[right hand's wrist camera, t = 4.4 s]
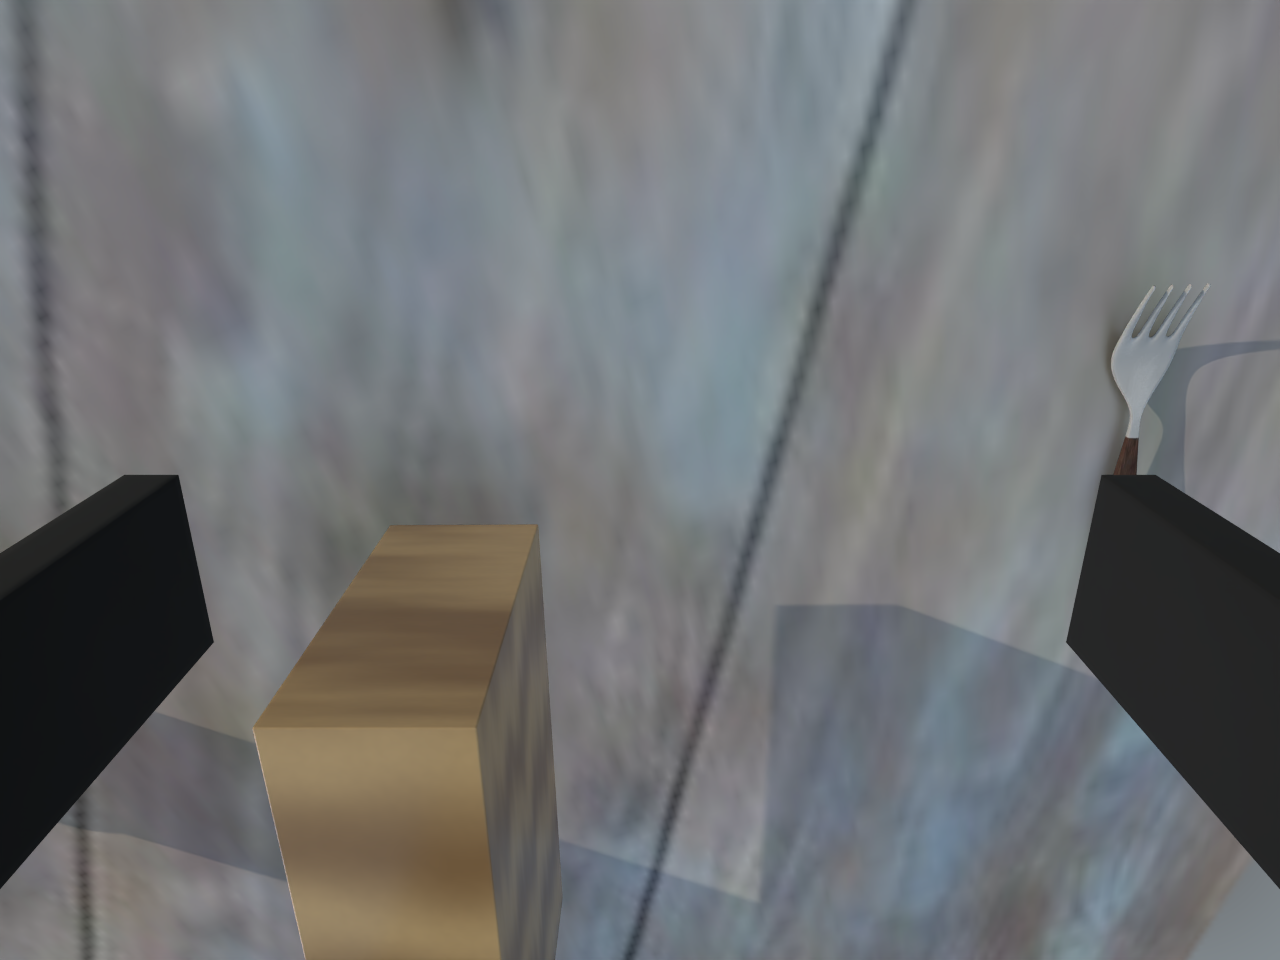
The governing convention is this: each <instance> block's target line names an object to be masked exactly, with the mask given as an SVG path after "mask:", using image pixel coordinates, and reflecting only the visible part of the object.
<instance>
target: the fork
mask: <svg viewBox="0 0 1280 960" xmlns="http://www.w3.org/2000/svg"><path fill="white" fill-rule="evenodd" d="M1210 287H1211V284H1209V283H1208V284H1207V285H1206V286H1205V288H1204V289H1203V290H1202V292H1201V293H1200V294H1199V296H1198V297H1197V298H1196V300H1195V301H1194V303H1193V304H1192V305H1191V307H1190V308H1189V310H1188V311H1187V313H1186V314H1185V316H1184V317H1183V318H1182V320H1181V322H1180V323H1179V325H1178V326H1177V328H1176V329H1175V331H1174V332H1173V333H1172V334H1171V335H1170V336H1168V337H1167V336H1166V333H1167V331H1168V328H1169V326H1170V324H1171V322H1172V320H1173V319H1174V317H1175V315H1176V313H1177V311H1178V310H1179V308H1180V306H1181V304H1182V302H1183V301H1184V299H1185V297H1186V296H1187V294H1188V292H1189V291H1190V289H1191V288H1192V285H1191V284H1189V285H1188V287H1187V288H1186V289H1185V291H1184V292H1183V293H1182V295H1181V296H1180V298H1179V299H1178V301H1177V302H1176V304H1175V305H1174V306H1173V308H1172V309H1171V311H1170V312H1169V314H1168V315H1167V317H1166V318H1165V320H1164V321H1163V323H1162V325H1161V326H1160V328H1159V329H1158V331H1157V332H1156V333H1155V335H1154V336H1152V337H1149V333H1150V330H1151V328H1152V326H1153V324H1154V322H1155V320H1156V318H1157V316H1158V314H1159V312H1160V311H1161V309H1162V307H1163V305H1164V303H1165V301H1166V300H1167V298H1168V296H1169V294H1170V293H1171V291H1172V290H1173V285H1171V286H1170V287H1169V288H1168V290H1167V291H1166V293H1165V294H1164V296H1163V297H1162V298H1161V300H1160V301H1159V303H1158V304H1157V306H1156V307H1155V309H1154V310H1153V312H1152V313H1151V315H1150V317H1149V318H1148V320H1147V321H1146V323H1145V325H1144V326H1143V328H1142V329H1141V331H1140V332H1139V334H1138V335H1137V336H1136V337H1134V338H1132V333H1133V330H1134V328H1135V326H1136V324H1137V322H1138V320H1139V318H1140V316H1141V314H1142V312H1143V310H1144V308H1145V306H1146V304H1147V302H1148V300H1149V298H1150V297H1151V295H1152V293H1153V292H1154V290H1155V288H1156V287H1155V286H1152V287H1151V289H1150V290H1149V292H1148V293H1147V295H1146V296H1145V298H1144V299H1143V301H1142V302H1141V304H1140V305H1139V307H1138V308H1137V310H1136V312H1135V313H1134V315H1133V316H1132V318H1131V320H1130V321H1129V323H1128V325H1127V326H1126V328H1125V330H1124V332H1123V334H1122V335H1121V337H1120V339H1119V341H1118V343H1117V345H1116V347H1115V349H1114V351H1113V354H1112V358H1111V370H1112V374H1113V377H1114V379H1115V382H1116V384H1117V386H1118V387H1119V389H1120V391H1121V393H1122V395H1123V396H1124V398H1125V400H1126V402H1127V404H1128V407H1129V411H1130V421H1129V426H1128V429H1127V433H1126V436H1125V440H1124V443H1123V446H1122V449H1121V452H1120V455H1119V459H1118V462H1117V465H1116V468H1115V471H1114V474H1113V475H1136V473H1137V455H1138V438H1139V427H1140V420H1141V416H1142V413H1143V410H1144V408H1145V406H1146V404H1147V402H1148V400H1149V399H1150V397H1151V395H1152V394H1153V392H1154V390H1155V389H1156V387H1157V386H1158V384H1159V383H1160V381H1161V379H1162V378H1163V376H1164V374H1165V373H1166V371H1167V369H1168V367H1169V365H1170V363H1171V361H1172V359H1173V357H1174V355H1175V352H1176V350H1177V347H1178V344H1179V342H1180V339H1181V337H1182V334H1183V332H1184V330H1185V328H1186V326H1187V324H1188V323H1189V321H1190V319H1191V317H1192V316H1193V314H1194V312H1195V310H1196V309H1197V307H1198V305H1199V303H1200V302H1201V300H1202V298H1203V297H1204V295H1205V294H1206V292H1207V291H1208V289H1209V288H1210Z"/></svg>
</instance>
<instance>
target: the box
mask: <svg viewBox="0 0 1280 960" xmlns="http://www.w3.org/2000/svg"><path fill="white" fill-rule="evenodd" d="M253 733H254V737H255V741H256V746H257V750H258V755H259V759H260V763H261V768H262V772H263V777H264V781H265V785H266V790H267V794H268V798H269V803H270V807H271V812H272V816H273V820H274V825H275V829H276V833H277V838H278V842H279V847H280V851H281V855H282V860H283V864H284V869H285V873H286V877H287V882H288V886H289V890H290V895H291V899H292V904H293V908H294V912H295V917H296V921H297V925H298V930H299V934H300V939H301V943H302V947H303V952H304V956H305V960H555V955H556V947H557V939H558V931H559V922H560V914H561V906H562V883H561V867H560V852H559V837H558V821H557V806H556V791H555V775H554V760H553V745H552V729H551V714H550V699H549V683H548V668H547V653H546V638H545V622H544V607H543V592H542V576H541V561H540V546H539V530H538V525H391V526H390V527H389V528H388V529H387V531H386V532H385V534H384V535H383V537H382V538H381V540H380V541H379V543H378V544H377V546H376V547H375V549H374V550H373V552H372V553H371V554H370V556H369V557H368V559H367V560H366V562H365V563H364V565H363V566H362V568H361V569H360V571H359V572H358V574H357V575H356V577H355V578H354V580H353V581H352V582H351V584H350V585H349V587H348V588H347V590H346V591H345V593H344V594H343V596H342V597H341V599H340V600H339V602H338V603H337V605H336V606H335V607H334V609H333V610H332V612H331V613H330V615H329V616H328V618H327V619H326V621H325V622H324V624H323V625H322V627H321V628H320V630H319V631H318V632H317V634H316V635H315V637H314V638H313V640H312V641H311V643H310V644H309V646H308V647H307V649H306V650H305V652H304V653H303V655H302V656H301V658H300V659H299V660H298V662H297V663H296V665H295V666H294V668H293V669H292V671H291V672H290V674H289V675H288V677H287V678H286V680H285V681H284V683H283V684H282V685H281V687H280V688H279V690H278V691H277V693H276V694H275V696H274V697H273V699H272V700H271V702H270V703H269V705H268V706H267V708H266V709H265V711H264V712H263V713H262V715H261V716H260V718H259V719H258V721H257V722H256V724H255V725H254V727H253Z"/></svg>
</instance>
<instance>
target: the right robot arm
mask: <svg viewBox="0 0 1280 960" xmlns="http://www.w3.org/2000/svg"><path fill="white" fill-rule="evenodd" d="M213 643H214V641H213V636H212V632H211V627H210V622H209V618H208V613H207V608H206V603H205V599H204V594H203V589H202V584H201V580H200V575H199V570H198V566H197V561H196V556H195V551H194V547H193V542H192V537H191V532H190V528H189V523H188V518H187V514H186V509H185V504H184V499H183V495H182V490H181V485H180V480H179V476H178V475H124V476H122V477H120V478H119V479H117V480H116V481H114V482H113V483H111V484H109V485H108V486H106V487H105V488H103V489H101V490H100V491H98V492H97V493H95V494H94V495H92V496H90V497H89V498H87V499H86V500H84V501H82V502H81V503H79V504H78V505H76V506H75V507H73V508H71V509H70V510H68V511H67V512H65V513H63V514H62V515H60V516H59V517H57V518H56V519H54V520H52V521H51V522H49V523H48V524H46V525H44V526H43V527H41V528H40V529H38V530H36V531H35V532H33V533H32V534H30V535H29V536H27V537H25V538H24V539H22V540H21V541H19V542H17V543H16V544H14V545H13V546H11V547H10V548H8V549H6V550H5V551H3V552H2V553H0V889H1V887H2V886H3V885H4V884H5V883H6V882H7V881H8V879H9V878H10V877H11V876H12V875H13V874H14V872H15V871H16V870H17V869H18V868H19V867H20V866H21V864H22V863H23V862H24V861H25V860H26V859H27V857H28V856H29V855H30V854H31V853H32V852H33V851H34V849H35V848H36V847H37V846H38V845H39V844H40V842H41V841H42V840H43V839H44V838H45V837H46V835H47V834H48V833H49V832H50V831H51V830H52V829H53V827H54V826H55V825H56V824H57V823H58V822H59V820H60V819H61V818H62V817H63V816H64V815H65V814H66V812H67V811H68V810H69V809H70V808H71V807H72V805H73V804H74V803H75V802H76V801H77V800H78V799H79V797H80V796H81V795H82V794H83V793H84V792H85V790H86V789H87V788H88V787H89V786H90V785H91V783H92V782H93V781H94V780H95V779H96V778H97V777H98V775H99V774H100V773H101V772H102V771H103V770H104V768H105V767H106V766H107V765H108V764H109V763H110V762H111V760H112V759H113V758H114V757H115V756H116V755H117V753H118V752H119V751H120V750H121V749H122V748H123V747H124V745H125V744H126V743H127V742H128V741H129V740H130V738H131V737H132V736H133V735H134V734H135V733H136V731H137V730H138V729H139V728H140V727H141V726H142V725H143V723H144V722H145V721H146V720H147V719H148V718H149V716H150V715H151V714H152V713H153V712H154V711H155V710H156V708H157V707H158V706H159V705H160V704H161V703H162V701H163V700H164V699H165V698H166V697H167V696H168V695H169V693H170V692H171V691H172V690H173V689H174V688H175V686H176V685H177V684H178V683H179V682H180V681H181V679H182V678H183V677H184V676H185V675H186V674H187V673H188V671H189V670H190V669H191V668H192V667H193V666H194V664H195V663H196V662H197V661H198V660H199V659H200V658H201V656H202V655H203V654H204V653H205V652H206V651H207V649H208V648H209V647H210V646H211V645H212V644H213ZM1066 643H1067V644H1068V645H1069V646H1070V647H1071V648H1072V649H1073V651H1074V652H1075V653H1076V654H1077V655H1078V656H1079V658H1080V659H1081V660H1082V661H1083V662H1084V663H1085V664H1086V666H1087V667H1088V668H1089V669H1090V670H1091V671H1092V673H1093V674H1094V675H1095V676H1096V677H1097V678H1098V679H1099V681H1100V682H1101V683H1102V684H1103V685H1104V686H1105V688H1106V689H1107V690H1108V691H1109V692H1110V693H1111V695H1112V696H1113V697H1114V698H1115V699H1116V700H1117V701H1118V703H1119V704H1120V705H1121V706H1122V707H1123V708H1124V710H1125V711H1126V712H1127V713H1128V714H1129V715H1130V716H1131V718H1132V719H1133V720H1134V721H1135V722H1136V723H1137V725H1138V726H1139V727H1140V728H1141V729H1142V730H1143V731H1144V733H1145V734H1146V735H1147V736H1148V737H1149V738H1150V740H1151V741H1152V742H1153V743H1154V744H1155V745H1156V747H1157V748H1158V749H1159V750H1160V751H1161V752H1162V753H1163V755H1164V756H1165V757H1166V758H1167V759H1168V760H1169V762H1170V763H1171V764H1172V765H1173V766H1174V767H1175V768H1176V770H1177V771H1178V772H1179V773H1180V774H1181V775H1182V777H1183V778H1184V779H1185V780H1186V781H1187V782H1188V783H1189V785H1190V786H1191V787H1192V788H1193V789H1194V790H1195V792H1196V793H1197V794H1198V795H1199V796H1200V797H1201V799H1202V800H1203V801H1204V802H1205V803H1206V804H1207V805H1208V807H1209V808H1210V809H1211V810H1212V811H1213V812H1214V814H1215V815H1216V816H1217V817H1218V818H1219V819H1220V820H1221V822H1222V823H1223V824H1224V825H1225V826H1226V827H1227V829H1228V830H1229V831H1230V832H1231V833H1232V834H1233V835H1234V837H1235V838H1236V839H1237V840H1238V841H1239V842H1240V844H1241V845H1242V846H1243V847H1244V848H1245V849H1246V851H1247V852H1248V853H1249V854H1250V855H1251V856H1252V857H1253V859H1254V860H1255V861H1256V862H1257V863H1258V864H1259V866H1260V867H1261V868H1262V869H1263V870H1264V871H1265V872H1266V874H1267V875H1268V876H1269V877H1270V878H1271V879H1272V881H1273V882H1274V883H1275V884H1276V885H1277V886H1278V887H1279V889H1280V553H1278V552H1277V551H1275V550H1274V549H1272V548H1270V547H1269V546H1267V545H1266V544H1264V543H1263V542H1261V541H1259V540H1258V539H1256V538H1255V537H1253V536H1251V535H1250V534H1248V533H1247V532H1245V531H1243V530H1242V529H1240V528H1239V527H1237V526H1236V525H1234V524H1232V523H1231V522H1229V521H1228V520H1226V519H1224V518H1223V517H1221V516H1220V515H1218V514H1217V513H1215V512H1213V511H1212V510H1210V509H1209V508H1207V507H1205V506H1204V505H1202V504H1201V503H1199V502H1198V501H1196V500H1194V499H1193V498H1191V497H1190V496H1188V495H1186V494H1185V493H1183V492H1182V491H1180V490H1179V489H1177V488H1175V487H1174V486H1172V485H1171V484H1169V483H1167V482H1166V481H1164V480H1163V479H1161V478H1160V477H1158V476H1156V475H1102V476H1101V480H1100V485H1099V490H1098V495H1097V499H1096V504H1095V509H1094V514H1093V518H1092V523H1091V528H1090V532H1089V537H1088V542H1087V547H1086V551H1085V556H1084V561H1083V566H1082V570H1081V575H1080V580H1079V584H1078V589H1077V594H1076V599H1075V603H1074V608H1073V613H1072V618H1071V622H1070V627H1069V632H1068V636H1067V641H1066Z"/></svg>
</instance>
